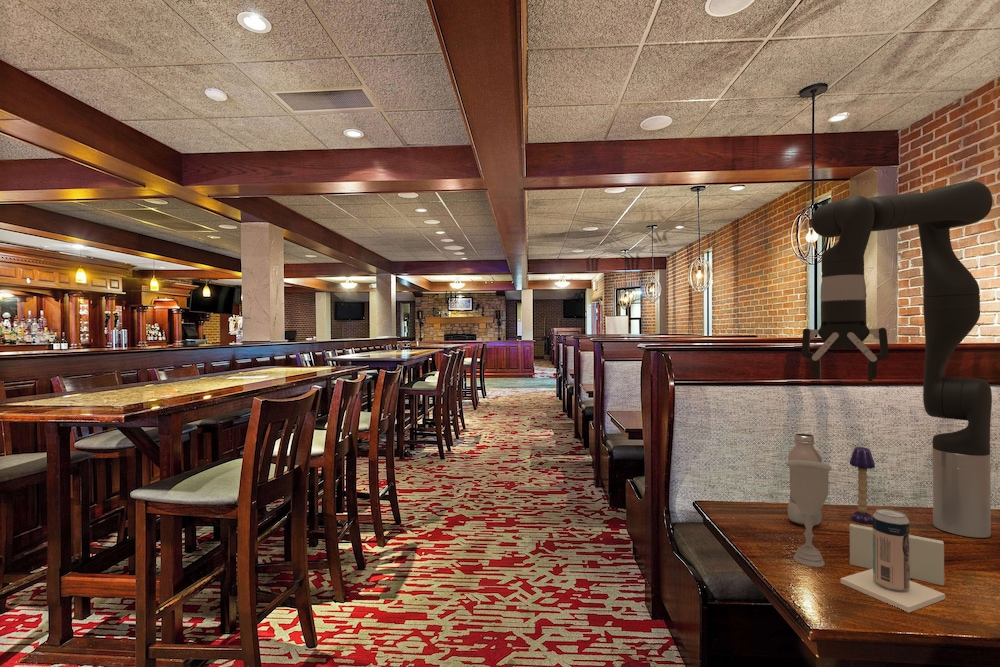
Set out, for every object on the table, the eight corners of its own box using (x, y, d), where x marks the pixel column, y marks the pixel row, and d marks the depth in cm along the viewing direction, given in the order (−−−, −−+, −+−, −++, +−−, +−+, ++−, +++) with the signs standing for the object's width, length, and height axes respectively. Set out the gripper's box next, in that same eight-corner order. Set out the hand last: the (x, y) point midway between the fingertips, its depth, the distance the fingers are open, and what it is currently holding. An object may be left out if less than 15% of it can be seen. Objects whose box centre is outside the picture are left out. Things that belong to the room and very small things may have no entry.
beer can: (916, 594, 79) (916, 519, 79) (882, 591, 80) (882, 516, 80) (899, 580, 84) (898, 509, 84) (867, 577, 85) (866, 506, 85)
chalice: (790, 565, 91) (790, 467, 91) (783, 550, 97) (782, 458, 97) (837, 571, 88) (836, 470, 88) (826, 556, 95) (826, 461, 95)
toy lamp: (879, 525, 110) (879, 450, 111) (856, 524, 111) (856, 449, 111) (867, 517, 115) (867, 446, 115) (845, 516, 116) (845, 445, 116)
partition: (849, 564, 91) (849, 526, 91) (850, 561, 93) (850, 523, 93) (944, 585, 83) (943, 544, 83) (943, 582, 85) (943, 541, 85)
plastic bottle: (782, 518, 115) (782, 431, 115) (813, 519, 114) (813, 432, 114) (794, 528, 108) (794, 437, 109) (828, 530, 108) (827, 438, 108)
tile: (876, 572, 88) (876, 567, 88) (945, 599, 79) (945, 593, 79) (840, 582, 84) (840, 578, 84) (908, 612, 75) (908, 607, 75)
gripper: (799, 300, 100) (800, 379, 100) (888, 296, 92) (889, 383, 92) (803, 301, 107) (804, 377, 107) (887, 298, 98) (888, 380, 98)
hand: (843, 379), depth 99 cm, fingers open, 8 cm apart
